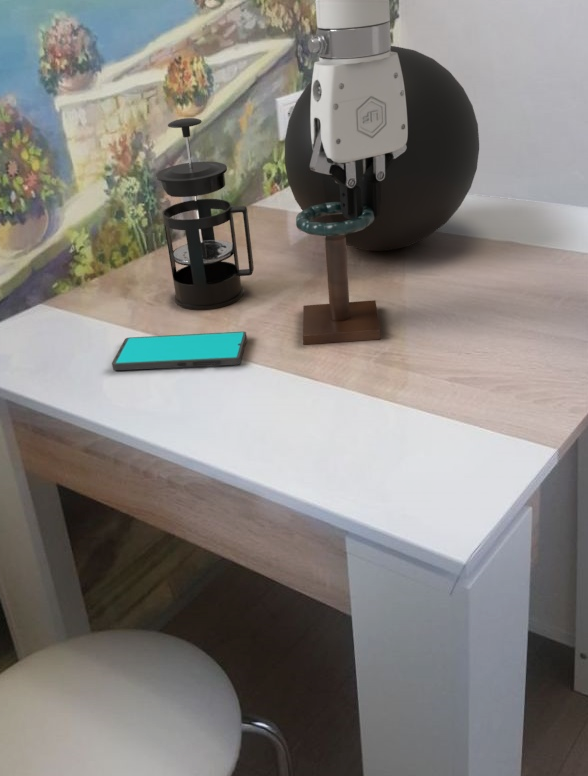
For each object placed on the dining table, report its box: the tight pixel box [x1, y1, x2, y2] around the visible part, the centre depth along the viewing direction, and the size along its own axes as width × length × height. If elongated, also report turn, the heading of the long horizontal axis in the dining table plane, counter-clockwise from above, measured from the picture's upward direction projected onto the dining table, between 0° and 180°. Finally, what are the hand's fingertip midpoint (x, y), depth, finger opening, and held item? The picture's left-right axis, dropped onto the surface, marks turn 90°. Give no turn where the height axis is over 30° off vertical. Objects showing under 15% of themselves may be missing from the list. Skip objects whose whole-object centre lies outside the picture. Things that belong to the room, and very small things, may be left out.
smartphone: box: [111, 331, 248, 371], centre depth 104 cm, size 7×1×15 cm
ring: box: [295, 202, 374, 237], centre depth 100 cm, size 9×9×1 cm
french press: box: [155, 117, 255, 311], centre depth 113 cm, size 12×9×23 cm
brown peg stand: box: [302, 235, 381, 345], centre depth 104 cm, size 9×9×11 cm
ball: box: [284, 45, 480, 252], centre depth 123 cm, size 27×27×27 cm
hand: (361, 215), depth 101 cm, fingers closed on ring, 1 cm apart
